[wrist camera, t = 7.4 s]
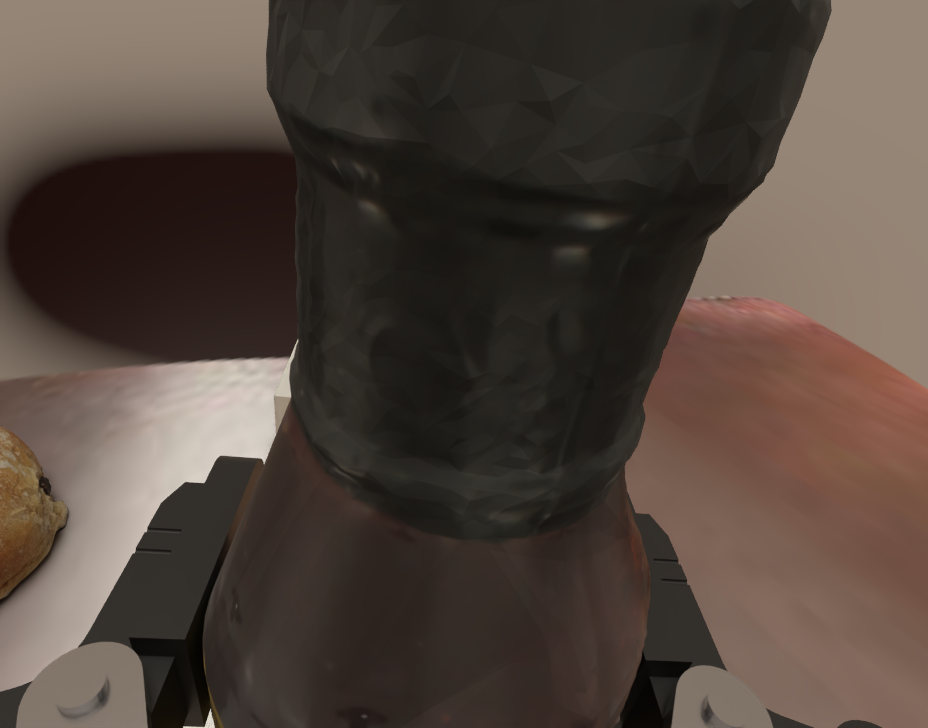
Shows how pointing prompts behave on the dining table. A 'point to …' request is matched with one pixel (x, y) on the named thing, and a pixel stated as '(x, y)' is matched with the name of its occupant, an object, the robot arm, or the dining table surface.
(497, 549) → the sauce bottle
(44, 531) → the bread roll
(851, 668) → the dining table surface
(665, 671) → the robot arm
